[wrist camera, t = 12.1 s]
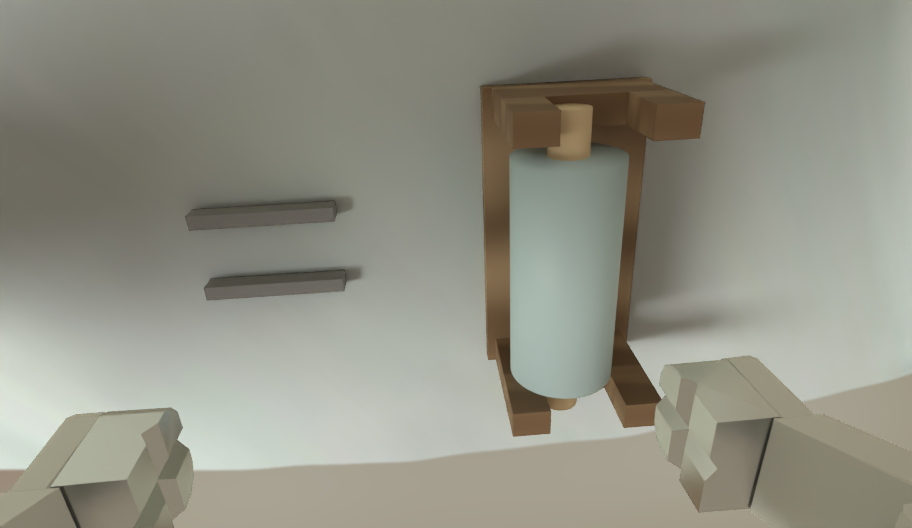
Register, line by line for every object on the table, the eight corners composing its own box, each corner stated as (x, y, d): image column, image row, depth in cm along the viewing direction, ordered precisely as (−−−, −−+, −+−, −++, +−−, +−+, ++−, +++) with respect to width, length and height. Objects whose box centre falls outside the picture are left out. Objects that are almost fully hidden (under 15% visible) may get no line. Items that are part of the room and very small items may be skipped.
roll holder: (621, 343, 38) (669, 424, 31) (486, 352, 38) (503, 437, 31) (646, 76, 31) (716, 101, 24) (480, 85, 31) (500, 113, 23)
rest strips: (213, 290, 35) (207, 300, 34) (193, 209, 32) (185, 217, 31) (346, 282, 35) (344, 291, 34) (335, 200, 33) (332, 207, 32)
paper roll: (562, 93, 29) (484, 110, 26) (658, 104, 26) (580, 125, 22) (553, 359, 36) (490, 398, 33) (628, 400, 33) (564, 447, 29)
